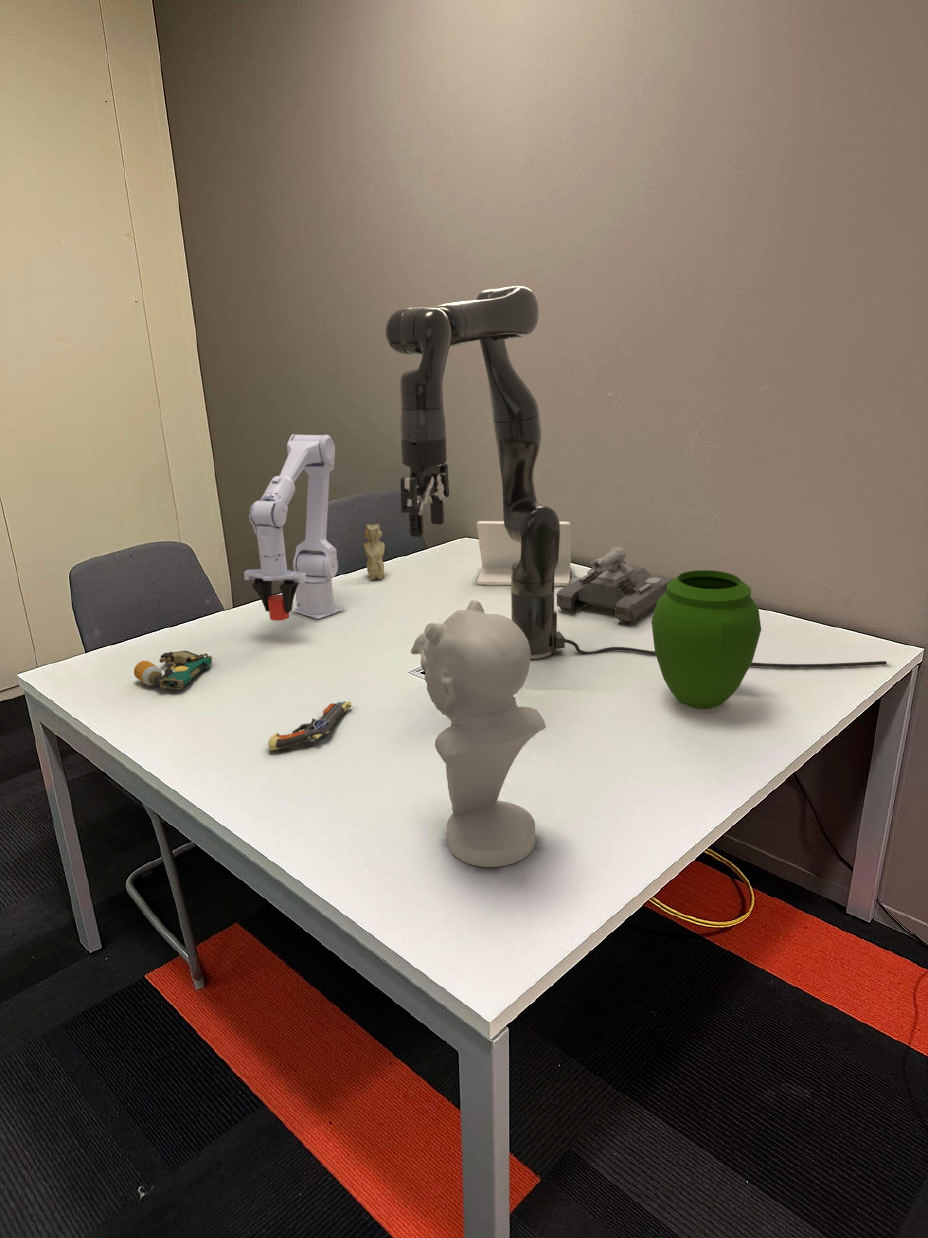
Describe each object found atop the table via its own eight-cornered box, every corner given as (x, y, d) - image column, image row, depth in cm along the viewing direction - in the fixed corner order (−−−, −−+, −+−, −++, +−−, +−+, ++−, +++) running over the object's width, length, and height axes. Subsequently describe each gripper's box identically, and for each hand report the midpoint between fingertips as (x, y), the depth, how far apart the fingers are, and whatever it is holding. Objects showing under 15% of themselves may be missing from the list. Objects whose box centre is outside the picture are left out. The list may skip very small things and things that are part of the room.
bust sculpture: (481, 772, 140) (476, 569, 128) (565, 848, 120) (569, 617, 108) (392, 800, 134) (378, 588, 121) (465, 886, 114) (457, 642, 101)
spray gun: (177, 659, 191) (231, 671, 185) (120, 684, 176) (176, 698, 171) (176, 641, 190) (230, 653, 184) (118, 665, 175) (174, 678, 169)
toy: (603, 584, 229) (605, 530, 224) (673, 597, 218) (677, 540, 213) (555, 612, 210) (556, 553, 205) (630, 627, 199) (633, 566, 194)
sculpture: (387, 572, 244) (383, 521, 239) (386, 580, 238) (382, 528, 232) (366, 573, 244) (363, 522, 239) (365, 581, 237) (361, 529, 232)
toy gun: (263, 740, 148) (317, 738, 146) (303, 699, 166) (351, 696, 163) (266, 754, 148) (320, 752, 146) (305, 712, 166) (354, 709, 164)
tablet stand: (569, 585, 229) (570, 524, 223) (476, 584, 232) (475, 523, 226) (570, 566, 246) (571, 508, 240) (484, 564, 249) (483, 507, 243)
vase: (765, 692, 165) (778, 572, 157) (736, 734, 150) (748, 603, 142) (668, 672, 175) (675, 558, 167) (631, 709, 160) (637, 586, 151)
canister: (282, 612, 199) (280, 592, 197) (293, 617, 196) (291, 596, 194) (266, 617, 196) (263, 597, 194) (276, 622, 193) (274, 601, 191)
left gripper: (234, 557, 189) (241, 614, 194) (293, 560, 185) (299, 619, 190) (250, 548, 195) (256, 604, 200) (308, 551, 191) (313, 608, 196)
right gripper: (421, 428, 150) (425, 518, 156) (383, 441, 138) (389, 538, 143) (460, 429, 147) (463, 521, 153) (425, 443, 135) (429, 542, 140)
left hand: (278, 610), depth 195 cm, fingers closed on canister, 4 cm apart
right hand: (427, 529), depth 148 cm, fingers open, 8 cm apart
